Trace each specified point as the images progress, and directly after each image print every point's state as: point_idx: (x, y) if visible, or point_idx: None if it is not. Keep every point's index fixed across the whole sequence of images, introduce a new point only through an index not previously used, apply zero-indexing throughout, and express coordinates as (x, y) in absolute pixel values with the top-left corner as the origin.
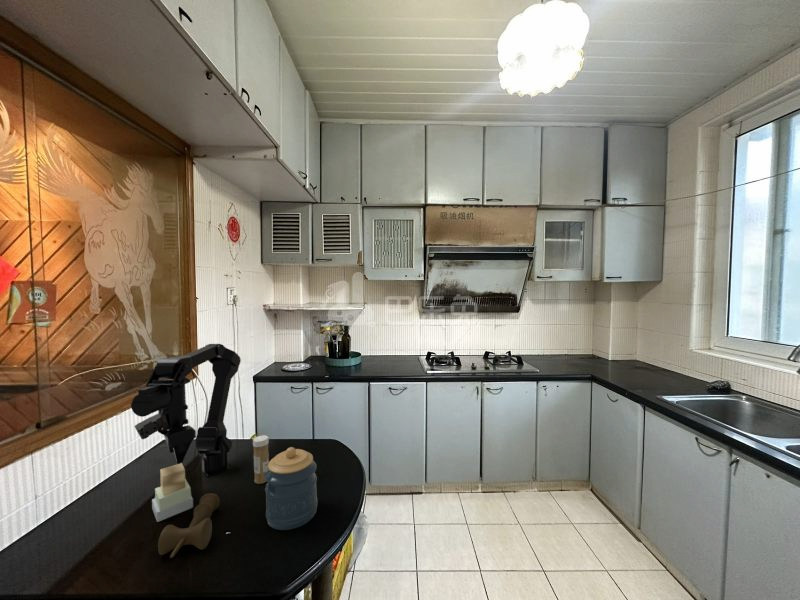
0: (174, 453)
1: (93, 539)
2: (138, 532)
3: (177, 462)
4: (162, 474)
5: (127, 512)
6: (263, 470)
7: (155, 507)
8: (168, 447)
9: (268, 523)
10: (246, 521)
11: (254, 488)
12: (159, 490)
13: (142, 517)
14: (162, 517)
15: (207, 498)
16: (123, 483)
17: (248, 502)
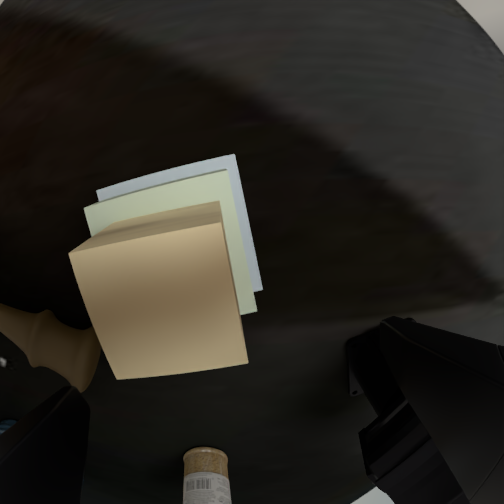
0: (10, 445)
1: (139, 8)
2: (83, 134)
3: (55, 394)
4: (104, 250)
5: (261, 71)
6: (183, 488)
7: (142, 178)
8: (414, 342)
9: (12, 421)
10: (29, 397)
11: (169, 441)
12: (185, 196)
13: (179, 127)
14: None
15: (63, 368)
16: (476, 80)
17: (102, 420)
